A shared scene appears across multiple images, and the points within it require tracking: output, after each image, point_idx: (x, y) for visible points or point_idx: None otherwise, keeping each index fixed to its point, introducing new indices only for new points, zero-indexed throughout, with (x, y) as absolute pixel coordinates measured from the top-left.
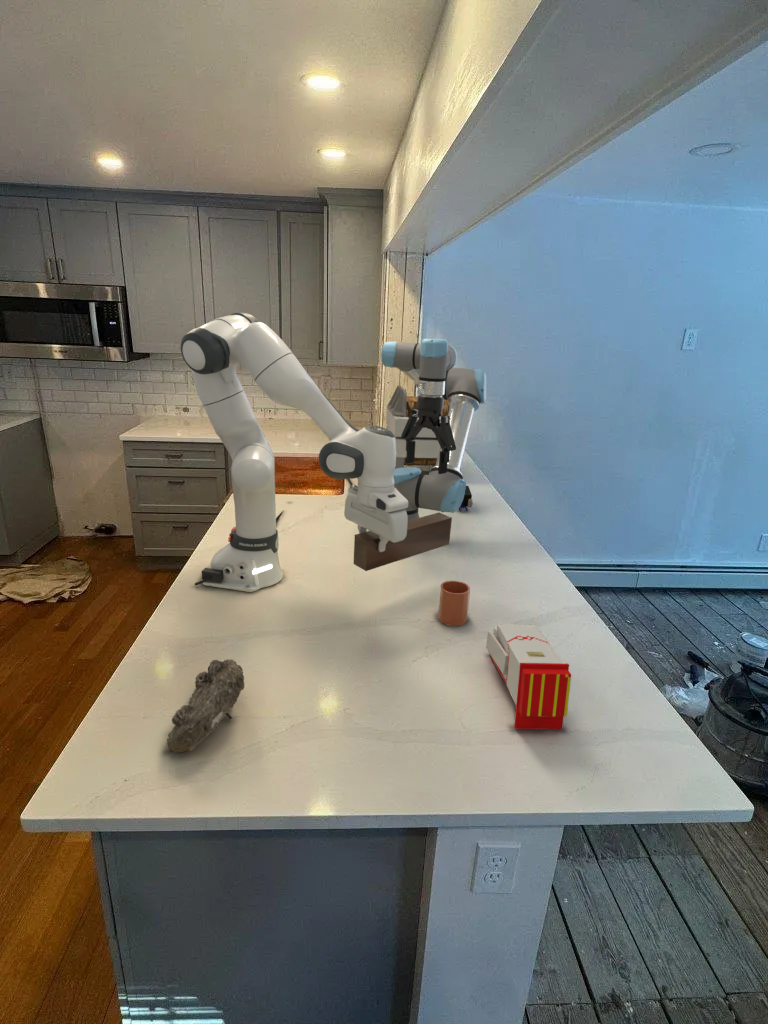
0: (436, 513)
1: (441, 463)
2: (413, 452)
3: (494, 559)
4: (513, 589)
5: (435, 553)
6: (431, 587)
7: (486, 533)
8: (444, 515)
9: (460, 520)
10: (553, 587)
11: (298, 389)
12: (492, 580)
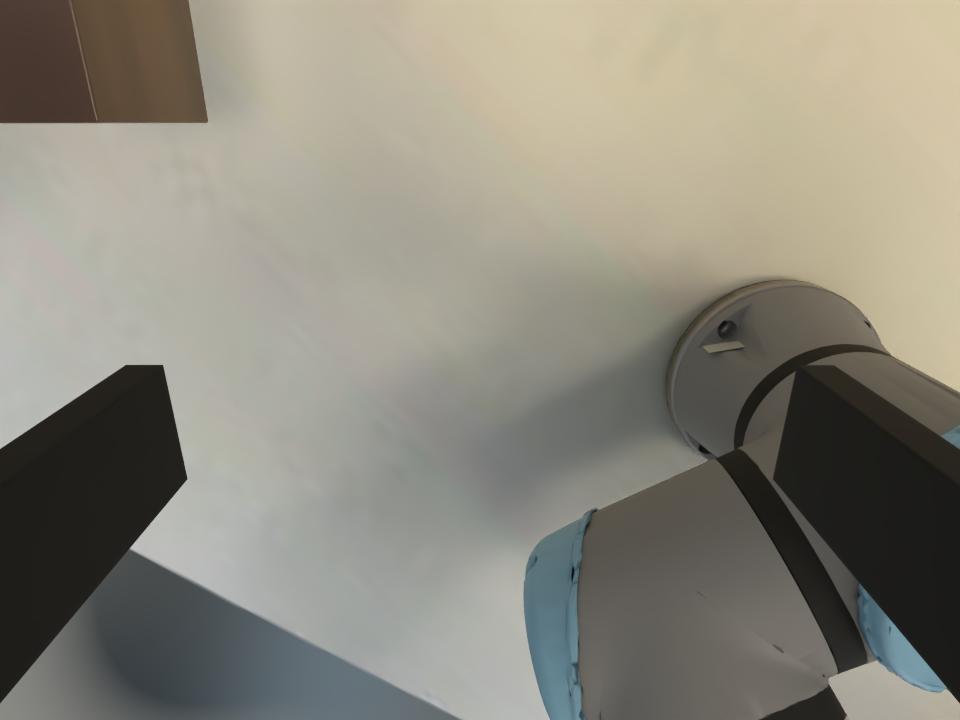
0: (77, 76)
1: (12, 453)
2: (867, 556)
3: (327, 480)
4: (91, 344)
5: (503, 340)
6: (254, 73)
7: (517, 623)
8: (11, 105)
9: None
10: None
11: None
12: (187, 338)
